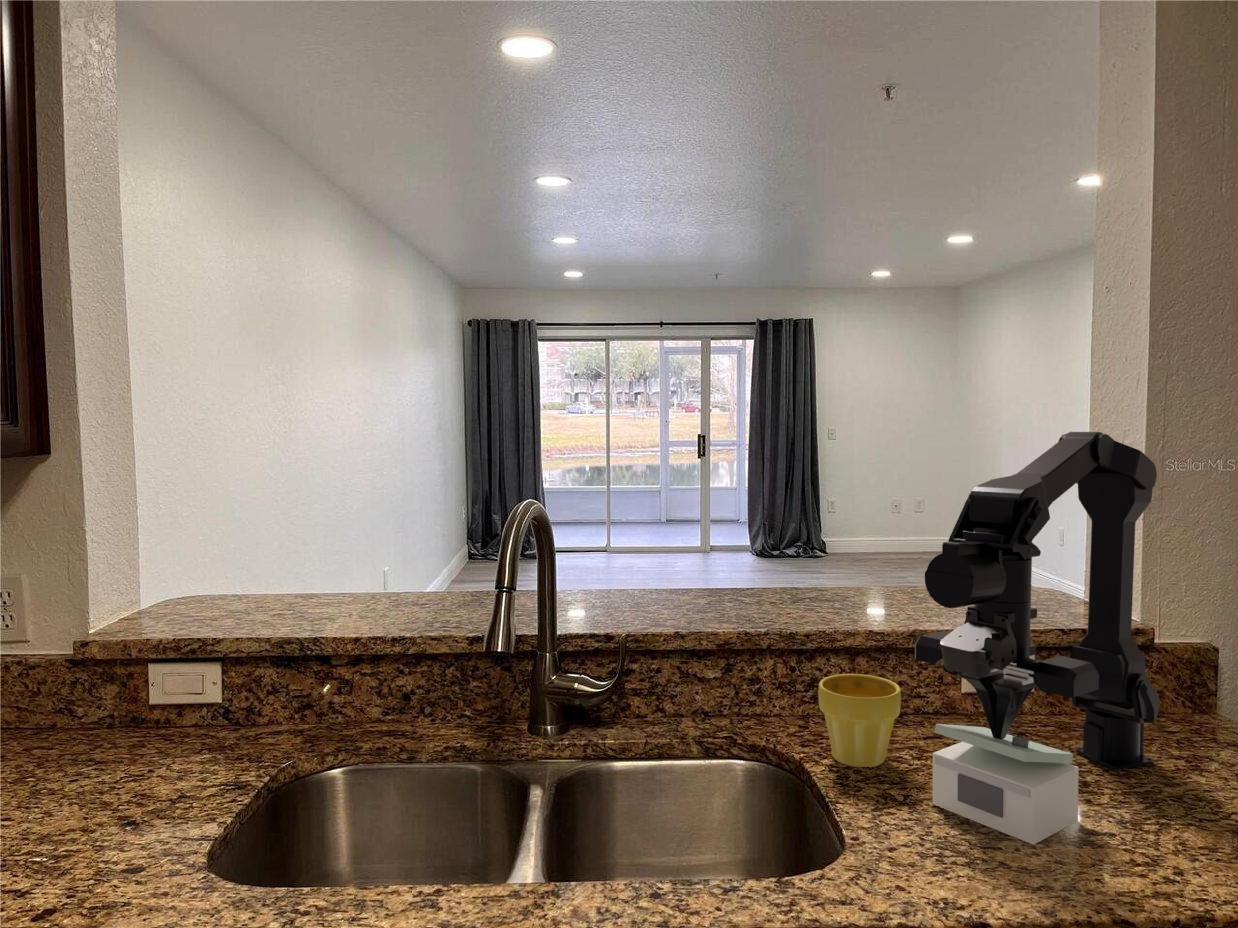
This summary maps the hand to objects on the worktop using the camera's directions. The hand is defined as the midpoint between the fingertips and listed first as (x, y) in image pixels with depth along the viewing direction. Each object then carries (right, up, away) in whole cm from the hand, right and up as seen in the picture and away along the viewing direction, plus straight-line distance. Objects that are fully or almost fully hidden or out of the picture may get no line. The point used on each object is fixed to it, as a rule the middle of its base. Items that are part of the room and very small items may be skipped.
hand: (999, 738), depth 96 cm
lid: (+1, -1, 0) cm, 1 cm away
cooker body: (+1, -9, +1) cm, 9 cm away
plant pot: (-11, -8, +17) cm, 22 cm away
